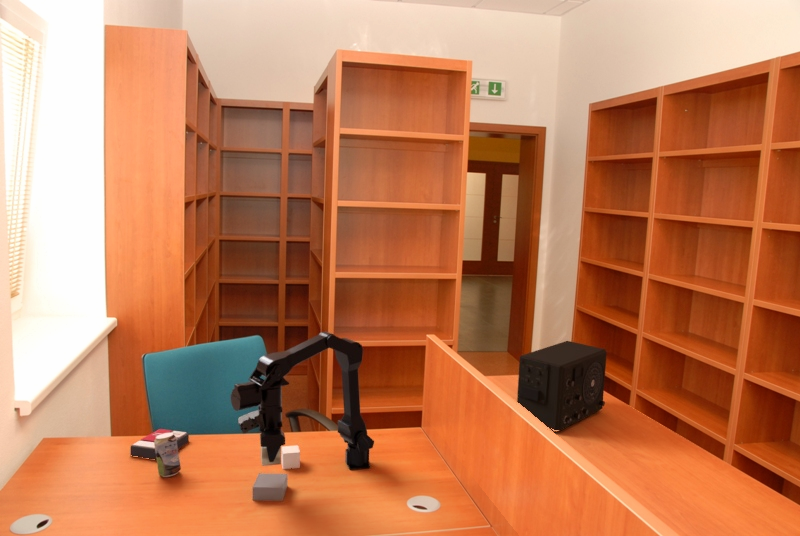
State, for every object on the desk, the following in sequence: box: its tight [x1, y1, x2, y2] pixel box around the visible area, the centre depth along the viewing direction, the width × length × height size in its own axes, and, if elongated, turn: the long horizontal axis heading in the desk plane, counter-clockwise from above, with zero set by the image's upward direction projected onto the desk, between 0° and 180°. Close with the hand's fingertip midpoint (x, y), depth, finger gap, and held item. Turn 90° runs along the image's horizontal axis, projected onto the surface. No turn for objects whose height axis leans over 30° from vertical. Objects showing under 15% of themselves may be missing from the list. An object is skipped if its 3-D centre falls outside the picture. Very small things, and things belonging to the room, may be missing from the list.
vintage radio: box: [516, 340, 608, 432], centre depth 229 cm, size 38×20×25 cm, turn 136°
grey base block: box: [252, 472, 288, 502], centre depth 168 cm, size 8×8×4 cm
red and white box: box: [130, 428, 190, 461], centre depth 193 cm, size 11×4×15 cm
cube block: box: [260, 446, 282, 467], centre depth 166 cm, size 5×5×5 cm
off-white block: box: [281, 445, 301, 470], centre depth 185 cm, size 5×5×5 cm
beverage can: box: [154, 431, 182, 478], centre depth 176 cm, size 6×7×12 cm
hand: (270, 457), depth 167 cm, fingers closed on cube block, 5 cm apart
